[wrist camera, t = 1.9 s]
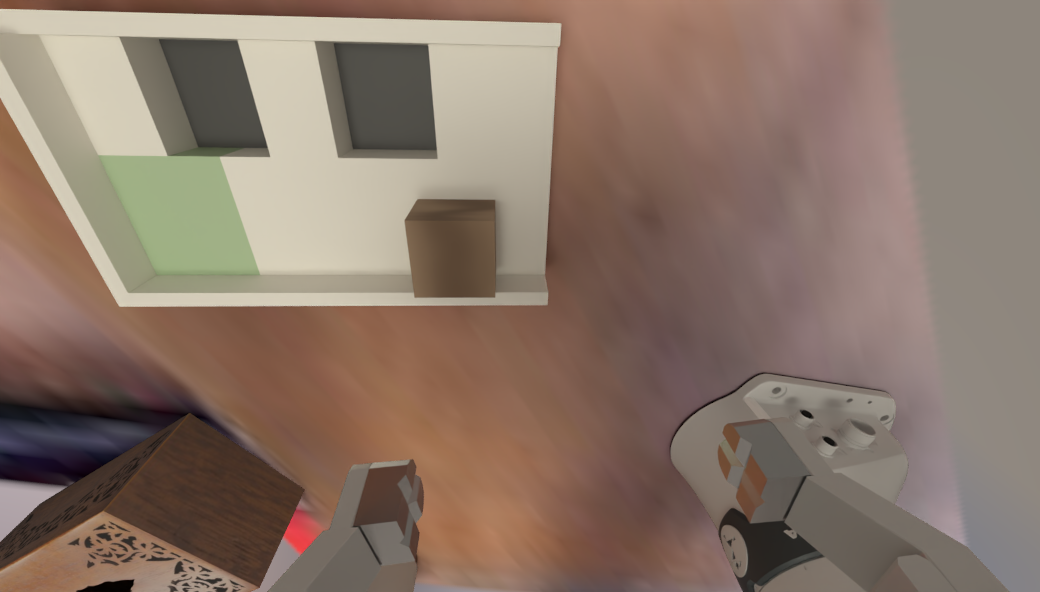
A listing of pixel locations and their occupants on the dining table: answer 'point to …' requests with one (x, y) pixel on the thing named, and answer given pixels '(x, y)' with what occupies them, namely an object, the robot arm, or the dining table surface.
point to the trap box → (283, 148)
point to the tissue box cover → (157, 521)
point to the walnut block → (452, 248)
